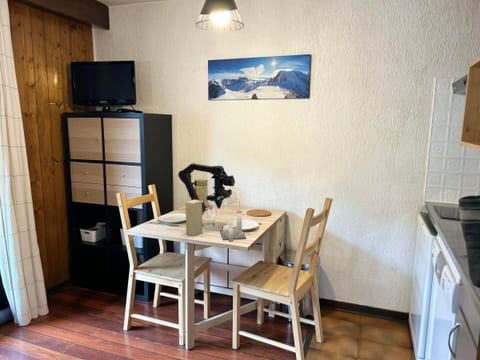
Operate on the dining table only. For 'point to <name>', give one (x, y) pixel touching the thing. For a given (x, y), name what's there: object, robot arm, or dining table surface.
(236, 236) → the board
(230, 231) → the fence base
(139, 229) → the dining table surface
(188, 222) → the toy refrigerator
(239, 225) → the fence post
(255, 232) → the dining table surface
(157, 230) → the dining table surface
